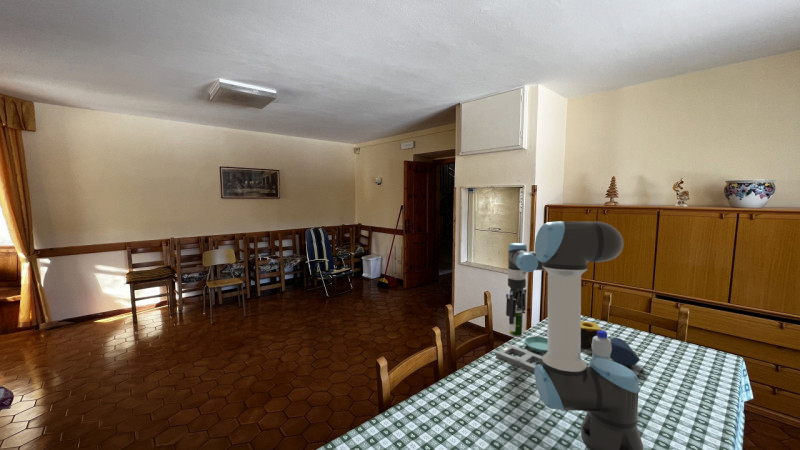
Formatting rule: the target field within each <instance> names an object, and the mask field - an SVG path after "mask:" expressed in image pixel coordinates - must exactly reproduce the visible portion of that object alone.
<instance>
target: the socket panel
mask: <svg viewBox="0 0 800 450" xmlns="http://www.w3.org/2000/svg"><path fill="white" fill-rule="evenodd" d="M511 353H514V354H516V355H518V356H520V357H519V358H518V357H516V356H514V355H512V354H511ZM542 356H543V355H539V354H537V353H534V352H532V351H529V350H526V349H523V348H520V347H518V346H515V345H513V344H509V345H506V346H505V347H503V348H501V349H500V350H498V351H497V352H496V351H495V358H499V359H501V360H502V361H505V362H507V361H508V363H510V364H512V365H515V366H517V367H520V368H522V369H525V370H526V371H528V372H532V373H534V369H535V366H536V365H537V364H533V363H531V362H532V361H534V362H536V363H538V364H542Z"/></svg>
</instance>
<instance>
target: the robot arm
mask: <svg viewBox="0 0 800 450" xmlns="http://www.w3.org/2000/svg"><path fill="white" fill-rule="evenodd" d="M534 242H535V243H534V251H528V249H527V248H528V247H527V244H525V243H522V242H520V243H519V242H513V243H512V242H511V243H509V245H508V251H507V252H508V259H507V263H508V264H507V267H508V268H507V277H508V278H507V286H508V287H509V288H510V290H509V293H506V295H505V298H506V303H505V304H506V308H505V309H506V310H505V311H506V312H505V315H506V316H507V317H508V318H509V319H508V320H509V321H508V331H509V330H511V331H514V332H515V329H516V317H515V311H516V307H519V308H521V309H522V324H523V320H524V319H523V317H524V315H523V314H526V310H527V309H526V307H527V303H526V302H527V301H526V299H527V298H526V295H527V289H526V287H527V285H526V284H527V279H526V278H527V274H528V273H531V272H534V271H546V272H547V339H548V352H547V353H543V355H541V356H542V363H537V364H535V365H536V366H535V369H534V372H533V373H534V380H535V385H536V388H537V391H538V396H539V397H540V399H541V402H542V403H543V404H544V405H545V407H546V408H548V409H551V410H561V411H562V412H564V411H574V412H575V411H578V412H579V411H580V412H586V414H585V415H584V418H583V420H582V422H581V426H580V436H581V439H582V441H583V442H584V444H585V445H586V446H588V448H590V450H644V444H643V441H642V437H641V434H640V431H639V427H638V426H637V424H638V423H637V422H638V409H639V393H640V385H639V383H640V382H639V378H638V376H637V374H636V373H635V372H633V370H632V369H630V368H628V366H623V365H621V364H619V363H616V362H614V361H613V360H611V359H610V360H606V359H600V358H595V359H593V360H592V359H591V360H590V362H589V366H587V363H586V362H585V361H584V360H583V358H581V355H582V354H581V353H582V352H581V349H582V348H581V321H582V317H581V315H582V275H583V274H584V273H585V272H586V271H588V263H603V262H604V263H605V262H608V261H612V260H615V259H616V258H617V257H618V256H620V254H621V253H622V252H623V248H624V238H623V236H622V234H621V232H620V231H619V230H617V228H615V227H614V226H612V225H611V224H608V223H606V222H603V221H602V222H601V221H562V220H560V221H549V222H548V221H547V222H545V223H543V224H542V225H540V228H539V230H537V233H536V237H535V241H534Z"/></svg>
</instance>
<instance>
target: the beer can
mask: <svg viewBox="0 0 800 450" xmlns="http://www.w3.org/2000/svg"><path fill="white" fill-rule="evenodd" d="M515 317H516V329H515V332H514V331H511V330H509V329H508V331H509V335H510V336H511V337H514V338H520V337H522V336H523V323H522V309H521V308H519V307H517V306H516V311H515Z"/></svg>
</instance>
